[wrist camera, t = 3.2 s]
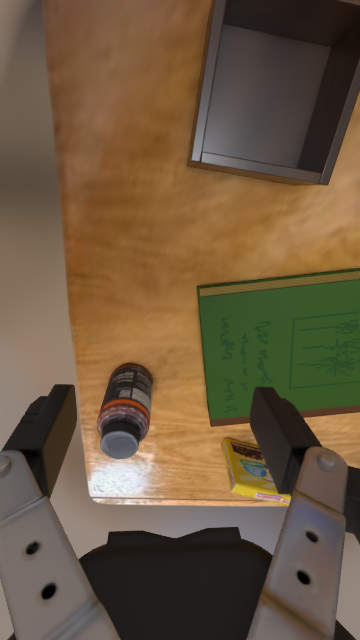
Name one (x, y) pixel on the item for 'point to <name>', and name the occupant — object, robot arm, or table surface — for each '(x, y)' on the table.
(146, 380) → the supplement bottle
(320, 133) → the holder
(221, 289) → the hardcover book
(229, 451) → the candy box
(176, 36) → the table surface
